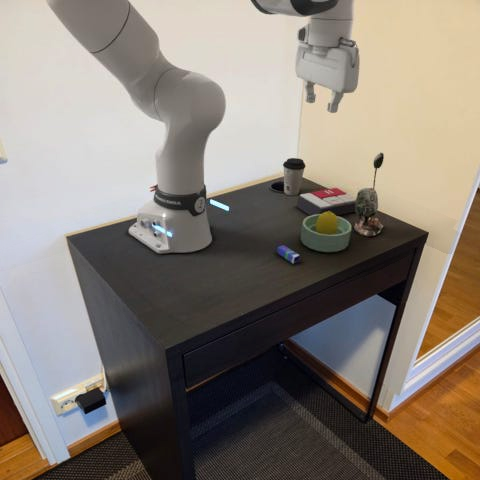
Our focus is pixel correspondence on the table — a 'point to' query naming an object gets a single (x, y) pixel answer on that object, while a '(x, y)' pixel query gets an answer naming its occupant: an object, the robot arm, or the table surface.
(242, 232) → the table surface
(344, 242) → the bowl
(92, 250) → the table surface
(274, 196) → the table surface
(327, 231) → the lemon
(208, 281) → the table surface
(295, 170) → the coffee cup
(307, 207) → the calculator
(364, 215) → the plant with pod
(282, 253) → the eraser
